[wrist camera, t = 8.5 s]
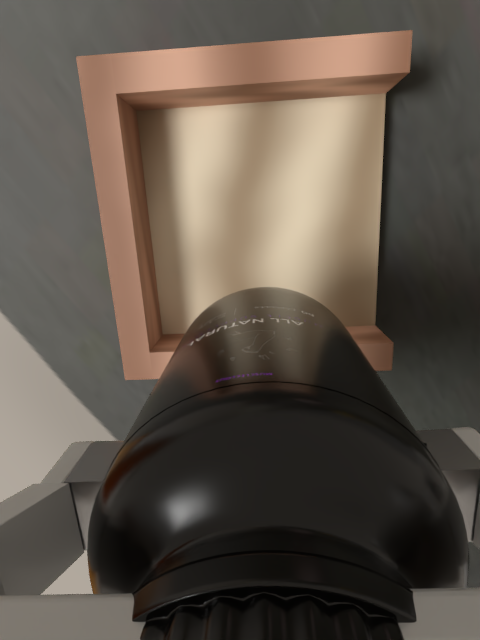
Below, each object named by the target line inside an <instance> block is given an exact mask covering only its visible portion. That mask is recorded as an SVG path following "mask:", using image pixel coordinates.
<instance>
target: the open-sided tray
mask: <svg viewBox="0 0 480 640" xmlns="http://www.w3.org/2000/svg"><path fill="white" fill-rule="evenodd" d="M411 45H412V30H408V31H395V32H383V33H370V34H357V35H344V36H332V37H319V38H306V39H294V40H281V41H268V42H255V43H243V44H230V45H217V46H205V47H192V48H179V49H166V50H154V51H141V52H128V53H116V54H103V55H90V56H78V57H76V59H77V66H78V72H79V79H80V86H81V92H82V99H83V105H84V112H85V118H86V125H87V132H88V138H89V145H90V151H91V158H92V164H93V171H94V178H95V184H96V191H97V197H98V204H99V211H100V217H101V224H102V230H103V237H104V243H105V250H106V257H107V263H108V270H109V276H110V283H111V289H112V296H113V303H114V309H115V316H116V322H117V329H118V335H119V342H120V349H121V355H122V362H123V368H124V375H125V380H140V379H159V378H160V376H161V374H162V373H163V371H164V369H165V367H166V366H167V364H168V362H169V360H170V359H171V357H172V355H173V353H174V352H175V350H176V348H177V346H178V344H179V343H180V341H181V339H182V338H183V336H184V335H185V333H186V331H187V330H188V328H189V327H190V325H191V324H192V323H193V321H194V320H195V319H196V318H197V317H198V316H199V315H200V314H201V313H202V312H203V311H204V310H205V309H206V308H207V307H209V306H210V305H211V304H213V303H214V302H216V301H217V300H219V299H221V298H223V297H225V296H227V295H229V294H232V293H234V292H237V291H240V290H245V289H249V288H257V287H278V288H284V289H289V290H293V291H297V292H299V293H302V294H305V295H307V296H309V297H311V298H313V299H315V300H316V301H318V302H320V303H321V304H323V305H324V306H325V307H326V308H328V309H329V310H330V311H331V312H332V313H333V314H334V315H335V316H336V317H337V318H338V319H339V320H340V321H341V322H342V324H343V325H344V326H345V328H346V329H347V330H348V331H349V333H350V334H351V336H352V337H353V339H354V340H355V342H356V343H357V345H358V346H359V348H360V349H361V351H362V352H363V354H364V355H365V356H366V358H367V359H368V361H369V362H370V364H371V365H372V367H373V368H374V370H375V371H385V370H392V360H393V342H392V341H391V340H390V339H389V338H388V337H387V336H386V335H385V334H384V333H383V332H382V331H381V330H379V329H378V328H377V327H376V326H375V320H376V298H377V276H378V254H379V232H380V210H381V188H382V166H383V144H384V123H385V101H386V93H387V92H388V91H389V90H390V89H391V88H392V87H394V86H395V85H396V84H397V83H398V82H399V81H400V80H402V79H403V78H404V77H405V76H406V75H407V74H408V73H410V62H411Z"/></svg>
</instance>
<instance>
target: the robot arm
mask: <svg viewBox="0 0 480 640" xmlns="http://www.w3.org/2000/svg"><path fill="white" fill-rule="evenodd" d="M416 432H417V433H418V435H419V436H420V438H421V439H422V441H423V442H424V444H425V445H426V447H427V448H428V450H429V451H430V453H431V454H432V456H433V457H434V459H435V460H436V462H437V463H438V465H439V467H440V469H441V470H442V472H443V474H444V475H445V477H446V479H447V481H448V483H449V485H450V486H451V488H452V490H453V492H454V494H455V496H456V498H457V501H458V504H459V506H460V509H461V512H462V515H463V518H464V523H465V527H466V531H467V538H468V542H473V544H474V545H475V546H476V547H478V548H479V549H480V434H479V433H478V432H477V431H476V430H475V429H473V428H470V427H462V428H448V429H435V430H418V431H416ZM123 442H124V441H95V442H93V441H86V442H75V443H72V444H71V445H70V446H69V447H68V449H67V450H66V451H65V452H64V454H63V455H62V456H61V458H60V459H59V460H58V461H57V463H56V464H55V465H54V467H53V468H52V469H51V470H50V471H49V473H48V474H47V475H46V477H45V478H44V479H43V480H42V482H41V483H40V484H33V485H31V486H29V487H27V488H26V489H24V490H22V491H20V492H19V493H17V494H15V495H13V496H12V497H10V498H8V499H6V500H4V501H3V502H1V503H0V640H140V636H141V633H142V630H143V627H144V625H145V623H146V622H133V621H132V614H133V606H134V597H133V595H132V593H128V594H67V595H66V594H65V595H40V594H41V593H43V591H45V589H47V588H48V587H49V586H50V585H51V584H52V583H53V582H54V581H55V580H56V579H57V578H58V577H59V576H60V575H61V574H62V573H63V572H64V571H65V570H66V569H67V568H68V567H70V565H72V564H73V563H74V562H75V561H76V560H77V559H78V558H79V557H80V556H81V555H82V554H83V553H84V550H87V546H88V529H89V523H90V517H91V512H92V508H93V505H94V502H95V498H96V496H97V493H98V491H99V489H100V487H101V484H102V482H103V480H104V478H105V476H106V473H107V472H108V469H109V467H110V465H111V463H112V461H113V459H114V458H115V456H116V454H117V452H118V451H119V449H120V447H121V445H122V443H123ZM410 590H411V591H413V600H414V606H415V612H416V620H417V621H416V622H414V623H398V624H399V626H400V629H401V631H402V634H403V638H404V640H480V588H431V589H410Z"/></svg>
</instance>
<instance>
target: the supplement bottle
mask: <svg viewBox="0 0 480 640" xmlns="http://www.w3.org/2000/svg"><path fill="white" fill-rule="evenodd" d="M87 553H88V554H87V555H88V567H89V576H90V582H91V586H92V591H93V594H128V593H132V595H133V597H134V606H133V614H132V621H133V622H146V623H145V625H144V627H143V630H142V633H141V636H140V640H404V638H403V634H402V631H401V629H400V626H399V624H398V623H414V622H416V621H417V620H416V612H415V606H414V600H413V591H411V590H410V589H431V588H467V587H468V578H469V548H468V538H467V531H466V527H465V523H464V518H463V515H462V512H461V509H460V506H459V504H458V501H457V498H456V496H455V494H454V492H453V490H452V488H451V486H450V485H449V483H448V481H447V479H446V477H445V475H444V474H443V472H442V470H441V469H440V467H439V465H438V463H437V462H436V460H435V459H434V457H433V456H432V454H431V453H430V451H429V450H428V448H427V447H426V445H425V444H424V442H423V441H422V439H421V438H420V436H419V435H418V433H417V432H416V430H415V429H414V427H413V426H412V424H411V423H410V422H409V420H408V419H407V417H406V416H405V414H404V413H403V411H402V410H401V408H400V407H399V405H398V404H397V402H396V401H395V399H394V398H393V396H392V395H391V393H390V392H389V390H388V389H387V388H386V386H385V385H384V383H383V382H382V380H381V379H380V377H379V376H378V374H377V373H376V371H375V370H374V368H373V367H372V365H371V364H370V362H369V361H368V359H367V358H366V356H365V355H364V354H363V352H362V351H361V349H360V348H359V346H358V345H357V343H356V342H355V340H354V339H353V337H352V336H351V334H350V333H349V331H348V330H347V329H346V328H345V326H344V325H343V324H342V322H341V321H340V320H339V319H338V318H337V317H336V316H335V315H334V314H333V313H332V312H331V311H330V310H329V309H328V308H326V307H325V306H324V305H323V304H321V303H320V302H318V301H316V300H315V299H313V298H311V297H309V296H307V295H305V294H302V293H299V292H297V291H293V290H289V289H284V288H278V287H257V288H249V289H245V290H240V291H237V292H234V293H232V294H229V295H227V296H225V297H223V298H221V299H219V300H217V301H216V302H214V303H213V304H211V305H210V306H209V307H207V308H206V309H205V310H204V311H203V312H202V313H201V314H200V315H199V316H198V317H197V318H196V319H195V320H194V321H193V323H192V324H191V325H190V327H189V328H188V330H187V331H186V333H185V335H184V336H183V338H182V339H181V341H180V343H179V344H178V346H177V348H176V350H175V352H174V353H173V355H172V357H171V359H170V360H169V362H168V364H167V366H166V367H165V369H164V371H163V373H162V374H161V376H160V378H159V380H158V382H157V383H156V385H155V387H154V389H153V390H152V392H151V394H150V396H149V397H148V399H147V401H146V403H145V405H144V406H143V408H142V410H141V412H140V413H139V415H138V417H137V419H136V420H135V422H134V424H133V426H132V428H131V429H130V431H129V433H128V435H127V436H126V438H125V440H124V442H123V443H122V445H121V447H120V449H119V451H118V452H117V454H116V456H115V458H114V459H113V461H112V463H111V465H110V467H109V469H108V472H107V473H106V476H105V478H104V480H103V482H102V484H101V487H100V489H99V491H98V493H97V496H96V498H95V502H94V505H93V508H92V512H91V517H90V523H89V529H88V546H87Z"/></svg>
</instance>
